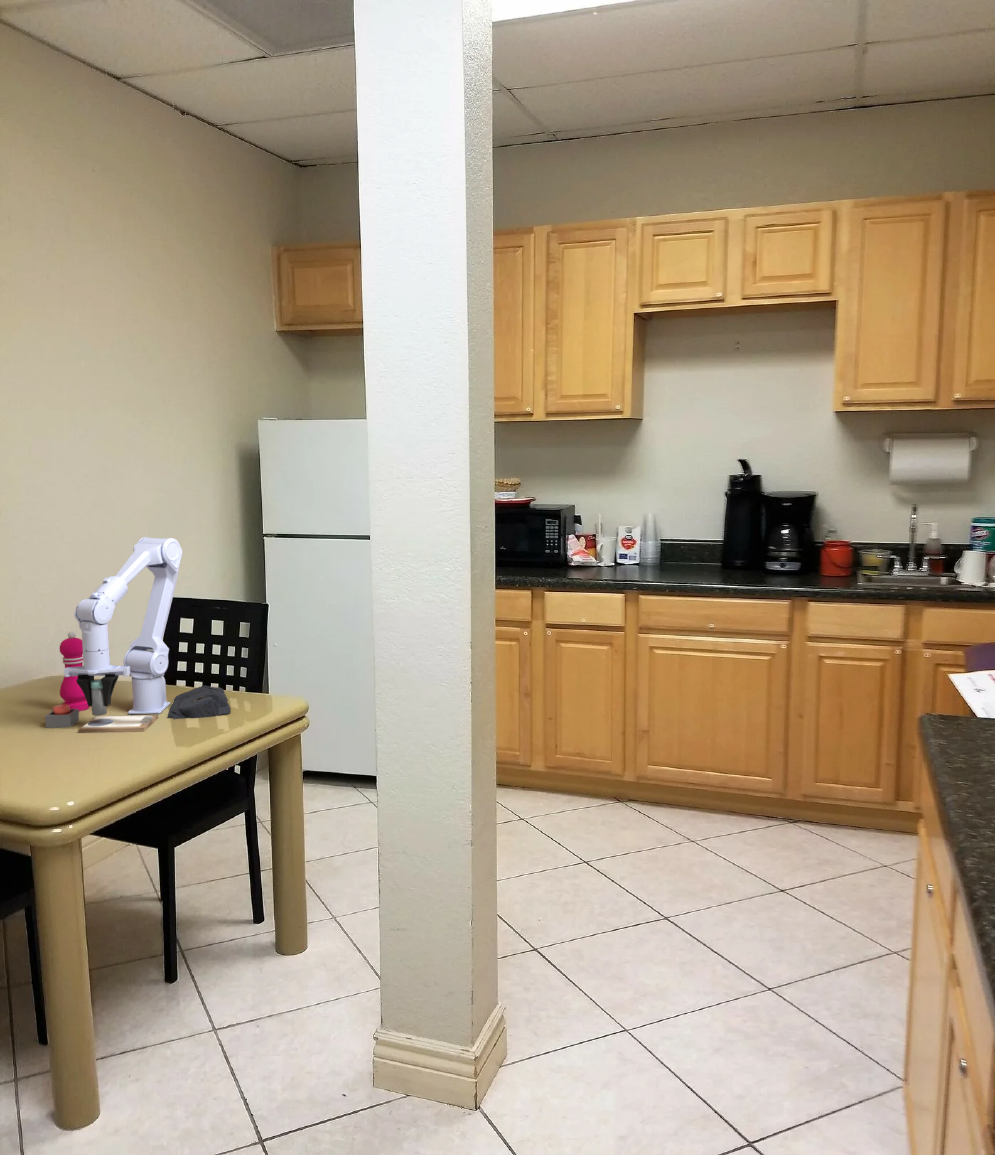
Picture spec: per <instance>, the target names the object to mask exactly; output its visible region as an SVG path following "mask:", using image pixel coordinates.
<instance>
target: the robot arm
mask: <svg viewBox="0 0 995 1155" xmlns="http://www.w3.org/2000/svg"><path fill="white" fill-rule="evenodd" d="M132 552H133V553H132V554H131V555H129V557H128V559H127V560H126V561H125V563H124V564H123V565H122V567H120V569H119V570H118V572H117V573H116V574H115V575H114V576H113V575H110V576H107V577H104V579H102V583H101V584H100V585H99V586H98V587H97V589H95V591H93V592H92V593H91V594H90V596H89V597H88V598H85V599H82V600H81V601H80V602H79V603H77V605H76V608H75V611H74V612H73V615H74V617H75V619H76V620H77V622H78V625H79V626H78V627H79V629H80V631H81V640H82V646H83V654H82V656H83V661H84V662H83V666H80V667H67V668H65V667H64V669H63V672H64V674H63V675H65V677H70V676H78V679H77V680H76V682H77V684H78V685H79V686H80V688H81V689H82V691H83V693H84V695H85V698H86V700H87V704H88V707H89V708H90V707H91V708H92V698H91V683H90V681H92V680H95V677H98V676H99V677H100V676H101V678H100V679H101V681H102V685H103V691H104V705H105V706H107V707H108V706H110V705H111V701H112V696H113V692H114V688H115V686H116V683H117V682H118V679H119V677H120V676H123V677H128V676H129V677H131V687H132V688H131V690H132V691H131V692H132V708H131V709H130V710H129V711H127V714H128V715H147V714H148V715H156V714H162V712H163V711H164V710H165V709H166V708H167V707H169V706H170V704H171V702H170V701H167V688H166V687H167V686H166V685H167V684H166V679H165V677H164V676H165V673H166V672H167V670H168V667H169V653H170V652H169V651H170V648H169V647H168V646H167V644H166V643H165V642H164V641H163V638H164V634H165V630H166V627H167V626H166V625H167V622H168V618H169V614H170V610H171V607H172V606H171V605H172V602H173V598H174V594H175V590H176V587H177V586H176V585H177V583H178V582H177V581H178V576H179V570H180V569H179V568H180V564H181V560H182V555H183V554H184V553H183V552H184V551H183V549H182V547H181V545H180V542H179V541H178V540H177V539H176V538H174V537H169V538H164V537H163V538H162V537H161V538H160V537H159V538H158V537H147V536H143V537H142V538H140V539H139V540H138V541H137V543H135V544H134V545H133V550H132ZM146 568H147V569H148V570H149V572H152V575H153V577H154V579H153V582H152V587H151V590H150V593H149V594H150V595H149V598H148V604H147V607H146V609H145V610H146V611H145V615H144V618H143V623H142V626H141V630H140V635H139V636H138V637H137V638H135V639H134V640H132V641H131V643H130V644H129V648H128V649H127V652H126V653H125V655H124V657H123V665H115V664H113V665H112V664H111V659H110V642H109V626H108V624H109V623H108V622H110V621H111V620H112V618H113V616H114V610H115V609H116V606H117V605H118V603H119V602H120V601H121V600H122V599H123V598H124V596H125V595H126V594H127V593H128V590H129V589H128V588H129V586H128V585H129V584H130V583H131V582H132V581H133V580H134V579H135V578H136V577H137V576H138V575H139V574H140V573H142V571H143V570H144V569H146ZM102 676H103V677H102Z"/></svg>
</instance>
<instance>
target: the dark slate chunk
mask: <svg viewBox="0 0 995 1155" xmlns="http://www.w3.org/2000/svg"><path fill="white" fill-rule="evenodd" d="M173 700H174V702H173V701H172V703H173V704H172V703H171V705H170V708H169V711H168V715H167V716H168V717H167V719H173V720H180V719H181V720H183V719H203V718H212V717H218V716H223V715H224V716H225V715H230V714H231V709H232V708H231V707H230V703H229V701H228V700H229V699H228V697H227V695H226V693H225V690H224V689H223V687H222V688H221V687H217V686H216V687H215V686H209V685H201V686H198V687H196V688H192V689H191V690H188V691H185V692H182V693H180V694H177V695H176V696H175V697H174V698H173Z"/></svg>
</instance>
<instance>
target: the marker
mask: <svg viewBox="0 0 995 1155" xmlns="http://www.w3.org/2000/svg"><path fill="white" fill-rule="evenodd" d="M101 679H102V678H98V679H94V680H92V681H90V683H91V698H92V706H91V714H92V716H94V717H95V716H106V714H108V713H107V712H108V708H107V707H108V706H105V705H104V691H103V685H102V681H101Z"/></svg>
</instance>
